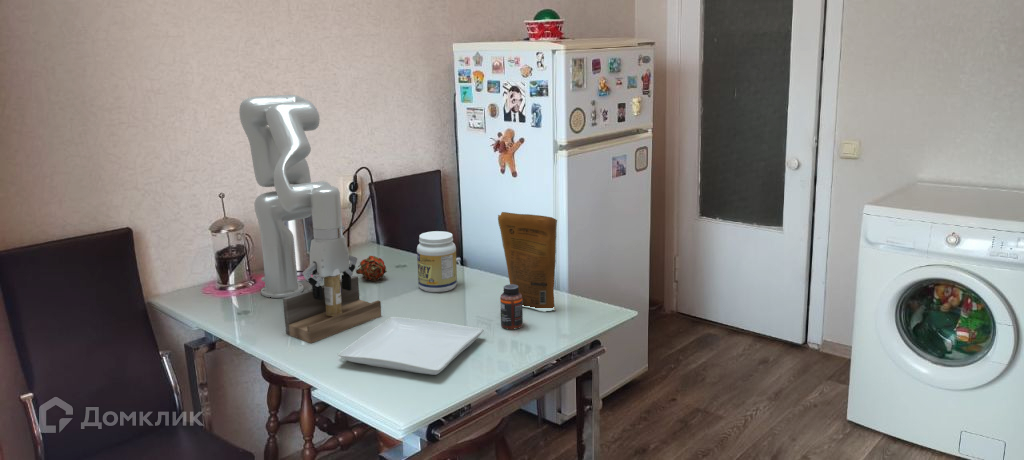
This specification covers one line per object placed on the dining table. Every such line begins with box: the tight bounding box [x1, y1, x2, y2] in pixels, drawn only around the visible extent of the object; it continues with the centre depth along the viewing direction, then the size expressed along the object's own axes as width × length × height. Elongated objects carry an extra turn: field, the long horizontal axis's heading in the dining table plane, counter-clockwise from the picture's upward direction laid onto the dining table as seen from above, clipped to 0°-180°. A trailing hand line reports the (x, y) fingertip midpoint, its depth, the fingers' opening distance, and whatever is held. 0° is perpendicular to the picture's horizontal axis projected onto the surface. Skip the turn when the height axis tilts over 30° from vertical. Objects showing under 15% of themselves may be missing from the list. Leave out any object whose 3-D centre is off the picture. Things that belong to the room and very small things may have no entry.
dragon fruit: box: [355, 255, 388, 282], centre depth 238 cm, size 8×8×12 cm
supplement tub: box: [416, 230, 458, 293], centre depth 228 cm, size 12×12×17 cm
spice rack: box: [282, 275, 382, 344], centre depth 199 cm, size 11×24×10 cm, turn 142°
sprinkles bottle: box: [323, 269, 342, 317], centre depth 198 cm, size 5×5×13 cm
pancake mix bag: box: [497, 211, 558, 308], centre depth 209 cm, size 7×19×28 cm, turn 51°
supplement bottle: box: [499, 283, 524, 330], centre depth 196 cm, size 6×6×11 cm
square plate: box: [337, 316, 484, 376], centre depth 181 cm, size 27×27×4 cm
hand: (332, 294), depth 198 cm, fingers open, 9 cm apart
